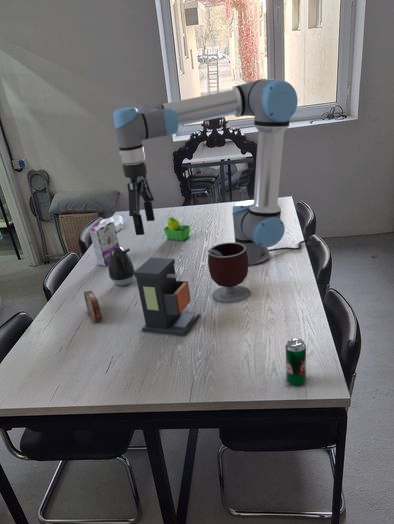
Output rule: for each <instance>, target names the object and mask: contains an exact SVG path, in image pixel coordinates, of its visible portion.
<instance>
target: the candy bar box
mask: <svg viewBox="0 0 394 524" xmlns="http://www.w3.org/2000/svg"><path fill="white" fill-rule="evenodd" d="M98 224H99V223H98ZM98 224H97V225H95V226H93V227H91V228H89V229H88V231H89V235H90V238H91V243H92V246H93V251H94V253H95V258H96V261H97V265H98V266H104V267H108V261H109V255H110V251H111V249H112V248H114V247H116V246H118V247H120V243H119V239H118V235H117V232H116V230H115V226H114V222H113V221H105V222H103V223H101V224H99V225H98Z"/></svg>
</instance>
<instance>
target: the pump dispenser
mask: <svg viewBox="0 0 394 524" xmlns="http://www.w3.org/2000/svg"><path fill="white" fill-rule="evenodd" d="M130 251H131V249H130V248H129V247H127V248H125V249H124V248H123V247H121V246H119V247H118V246H116V247H114V248H112V249H111V251H110V255H109V261H108V265H107V268H108V277H109V279H110V280H111V282H112V283H113V284H114V285H116V286H119V287H120V286H121V287H123V286H128V285H130V284H131V283H132V282H133V281H134V278H135V276H134V272H135V271H136V270H135V267H134V265H133V262H132V260H131V258H130V256H129V254H128V253H129V252H130Z"/></svg>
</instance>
